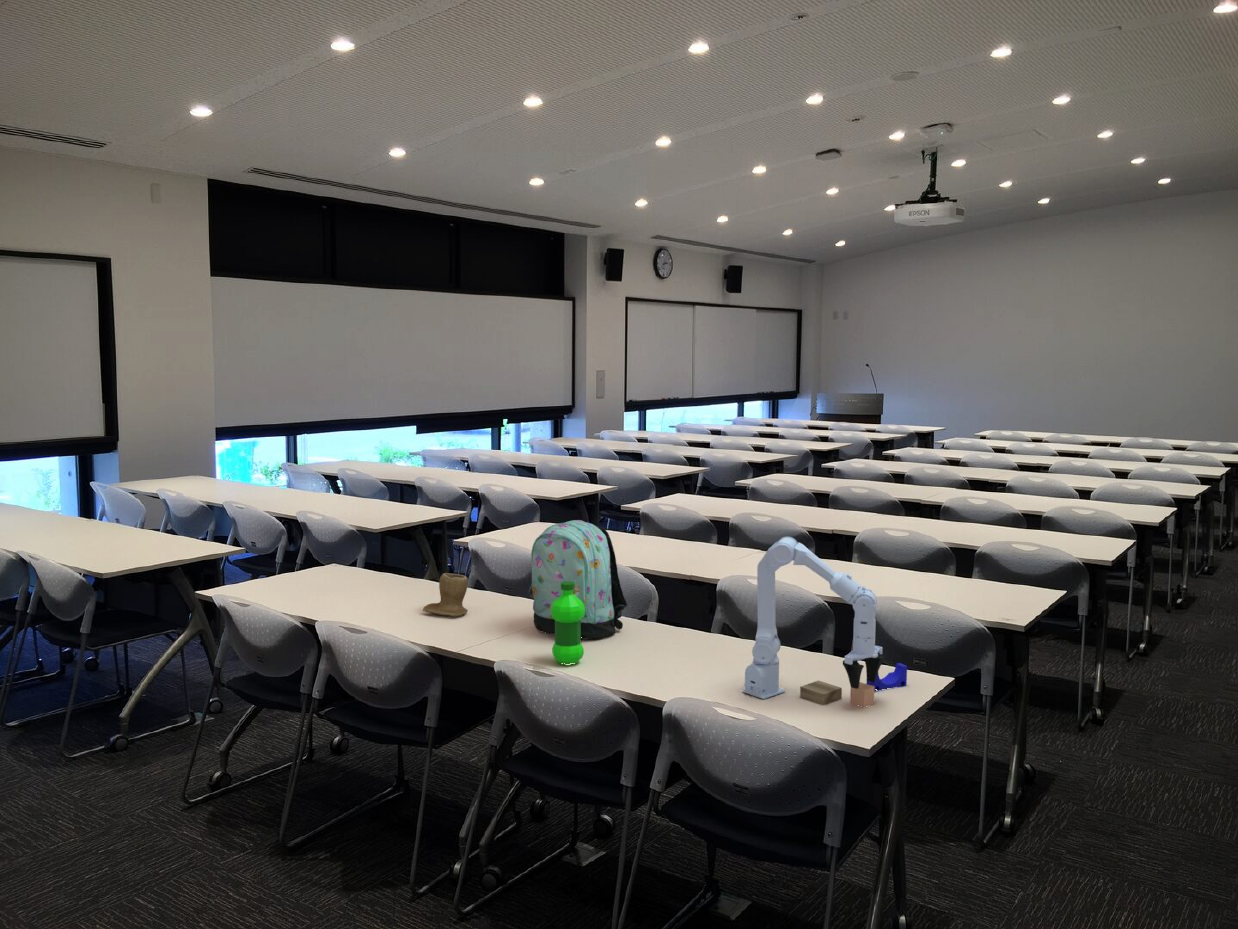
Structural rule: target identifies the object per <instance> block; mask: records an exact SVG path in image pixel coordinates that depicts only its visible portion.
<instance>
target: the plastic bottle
mask: <svg viewBox="0 0 1238 929" xmlns="http://www.w3.org/2000/svg"><path fill="white" fill-rule="evenodd" d="M574 589H575V583H574V582H562V583H561V590H563V594H562V595H561V596H559V597H558V598H557V599H556V600H555V601H554V602H553V603H552V605H551V614H552V617H553V618H554V620H555V634H554V643H553V645H552V648H551V653H552V655H553V658H554V660H555V661H556V662H558V663H559V664H560V663H563V664H564V663H565V664H570V663H576V664H577V663H578V662H579V661H580V660H581V659H582V658H583V657H584V653H585V650H584V647H583V644H582V642H581V641H582V640H581V639H582V638H581V619H582V618H583V617H584V614H585V607H584V604H583V603H582V601H581V600H580V599H579V598H578V597H576V596H575V595H574V594H573V590H574Z"/></svg>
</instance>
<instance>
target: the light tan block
mask: <svg viewBox="0 0 1238 929" xmlns="http://www.w3.org/2000/svg"><path fill="white" fill-rule="evenodd" d="M874 688H875V686H871V685H868V684H866V683H864V682H862V681H861V682H860V683H859V688H858V689H855V688H852V687H851V686H850V692H849V693H850V699H849V700H850V701H849V703H850V704H851V705H853V706H857V705H859V706H858V707H860V706H862V707H861V708H863V707H865V708H867V707H866V706H868V705H870V706H873V705H874V704H875V692H874ZM872 704H873V705H872ZM868 707H869V706H868Z"/></svg>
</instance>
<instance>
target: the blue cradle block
mask: <svg viewBox="0 0 1238 929" xmlns="http://www.w3.org/2000/svg"><path fill="white" fill-rule="evenodd" d="M894 668H895V669H894V671H891V672H888V674H887V675H885V676H884V677H883V678H880V676H879V673H878V674H877V677H876V681H875V682H874V683H873V682H870V681H867V680H866V683H865V684H868V685H871V686H875V688H874V691H875V692H877V691H876V690H875V689H877V690H881V691H883V690H882V689H886V690H888V689H887V688H892V689H894V688H893V687H897V688H901V687H902V688H903V687H907V685H908V684H907V683H908V682H907V680H908V679H907V678H908V666H907V665H905V664H903V663H901V662H899V663H895V667H894Z"/></svg>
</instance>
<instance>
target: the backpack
mask: <svg viewBox="0 0 1238 929" xmlns="http://www.w3.org/2000/svg"><path fill="white" fill-rule="evenodd" d="M530 555H531V556H530V557H531V585H530V587H529V591H528V592H527V593H528V594H529V593H530V594H529V598H533V603H532V610H533V625H534V628H536V630H537V631H539V630H540V631H539V632H542V633H544V632H546V633H549V634H548V635H550V633H551V634H553V635H555V620H554V618H553V617H552V614H551V605H552V603H553V602H554V601H555V600H556V599H557V598H558V597H559V596H561V595H562V594H563V590H561V583H562V582H574V583H575V589H574V590H573V594H574V595H575V596H576V597H578V598H579V599H580V600H581V601H582V603H583V604H584V607H585V614H584V617H583V618H582V619H581V637H582V638H581V639H583V638H588V640H590V639H591V640H594V639H593V638H599V639H602V638H605V637H606V636H608V635H607V634H609V635H614V634H615V633H616V632H617V630H622V629H623V624H624V623H623V621H621V620H620V618H621V617H622V611H623V610H625V608H626V607H628V603H627V601H626V598H625V596H624V592H623V589H622V587H621V581H620V577H619V573H618V565H617V558H616V553H615V550H614V545H613V542H612V539H611V536H610V535H609V533H608V531H607V529H605V528H604V527H602V526H598V525H595V524H593V523H590V522H587V521H586V522H585V521H583V520H582V519H580V520H579V519H577V520H576V519H575V520H569V521H566V522H561V523H560V522H559V523H555V524H552V525H551V526H550V525H549V526H548V527H547V528H545V529H544V530H543V532H542V533H541V534H539V536H537V537H536V539H535V540H534V542H533V544H532V547H531V554H530ZM616 629H617V630H616ZM546 633H545V634H546ZM613 633H614V634H613Z"/></svg>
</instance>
